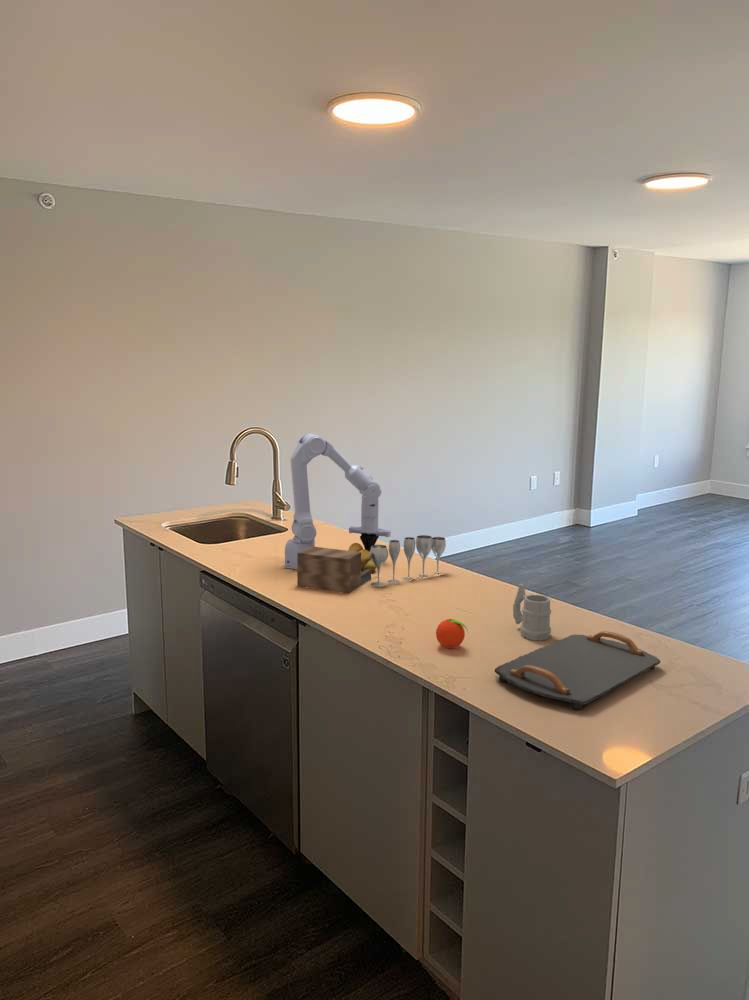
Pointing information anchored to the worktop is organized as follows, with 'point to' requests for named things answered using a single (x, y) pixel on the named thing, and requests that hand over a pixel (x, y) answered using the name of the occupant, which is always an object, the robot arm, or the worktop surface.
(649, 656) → the serving board
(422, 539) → the goblet set
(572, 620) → the worktop surface
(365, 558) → the bread roll
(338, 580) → the walnut shelf
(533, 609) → the mug
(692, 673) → the worktop surface
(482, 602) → the worktop surface
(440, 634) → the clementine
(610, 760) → the worktop surface
